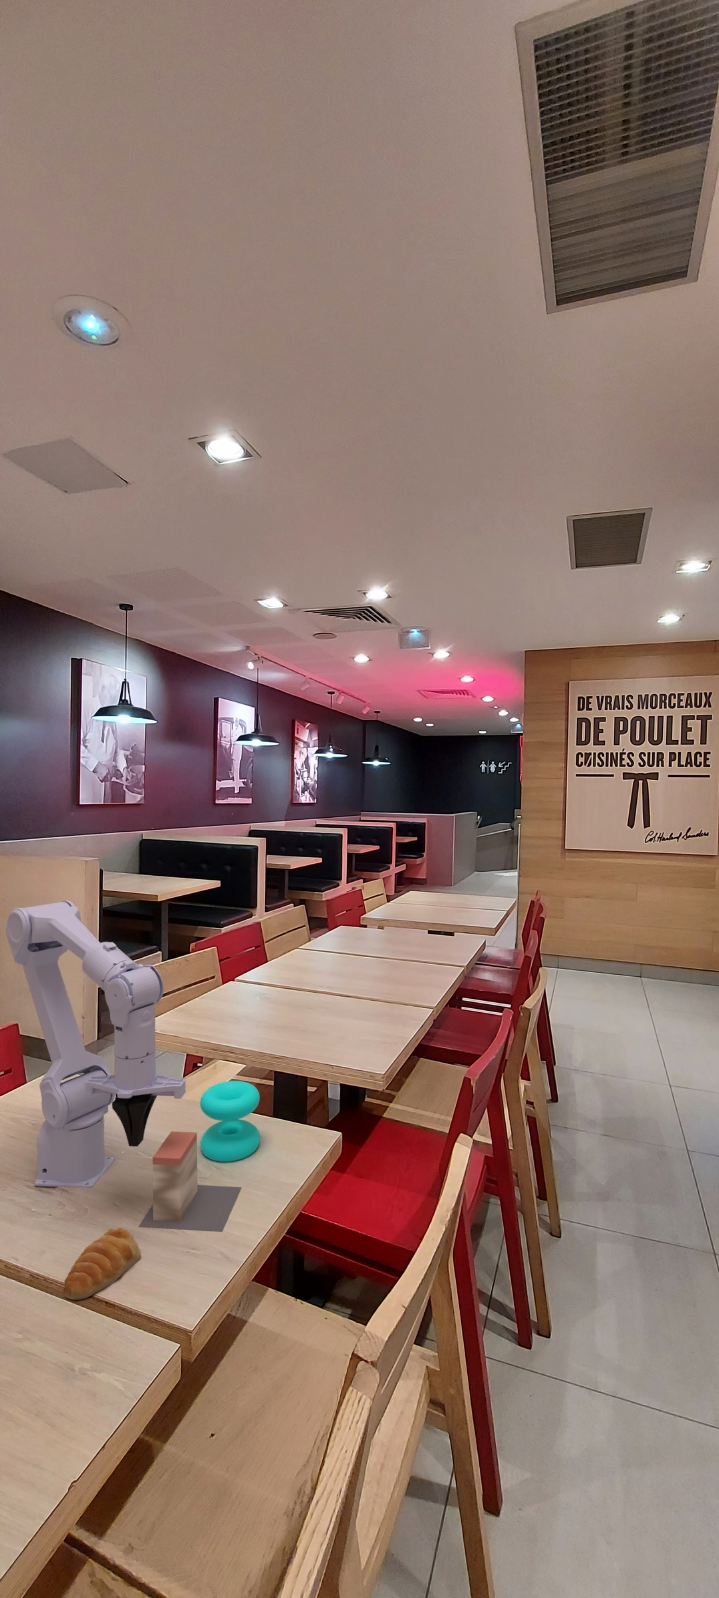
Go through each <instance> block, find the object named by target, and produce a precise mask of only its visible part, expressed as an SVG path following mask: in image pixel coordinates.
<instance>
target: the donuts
mask: <svg viewBox="0 0 719 1598" xmlns="http://www.w3.org/2000/svg"><path fill="white" fill-rule="evenodd" d="M260 1099H261V1096H260V1092H259V1090H258V1089H257V1087H256V1086H255V1085H253V1084H252V1083H249V1082H247V1081H246V1082H245V1081H242V1080H229V1081H223V1082H218V1083H217V1084H214V1085H212V1086H210V1087H208V1088H207V1089H206V1090H205V1091H204V1092H203V1093H202V1094H201V1097H200V1101H199V1104H200V1105H199V1107H200V1109H201V1111H202V1113H203V1114H205V1116H207V1117H208V1118H209V1119H212V1120H216V1121H219V1122H217V1123H214V1124H212V1125H211V1126H210V1127H208V1128H207V1129H206V1130H205V1132H204V1133H203V1134H202V1137H201V1140H200V1148H201V1149H200V1150H201V1152H202V1154H203V1155H204V1156H205V1157H207V1158H208V1159H209V1160H211V1161H215V1162H222V1163H223V1162H224V1163H228V1162H235V1161H240V1160H242V1159H245V1158H247V1157H249V1156H250V1155H252V1154H253V1153H254V1152H255V1151H256V1150H257V1149H258V1147H259V1146H260V1145H259V1144H260V1141H261V1135H260V1134H261V1133H260V1131H259V1129H258V1127H256V1125H254V1124H253V1123H252V1122H251V1121H247V1120H244V1119H243V1118H246V1117H247V1116H249V1115H250V1114H252V1113H253V1112H254V1111H255V1110H256V1109H257V1107H258V1106H259V1103H260Z"/></svg>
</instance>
